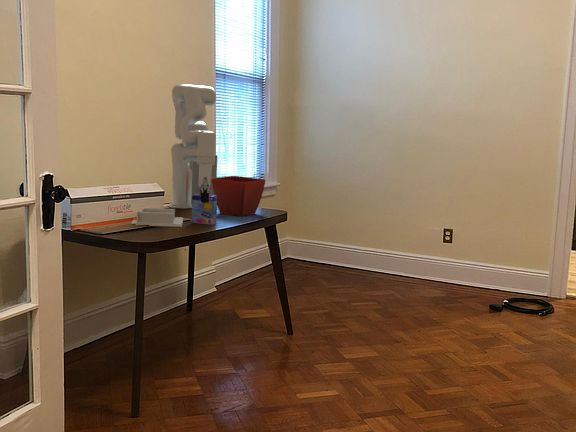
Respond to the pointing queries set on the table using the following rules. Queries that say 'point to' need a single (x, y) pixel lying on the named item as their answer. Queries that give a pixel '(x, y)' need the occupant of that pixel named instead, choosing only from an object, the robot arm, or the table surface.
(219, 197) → the plant pot
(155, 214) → the end holder
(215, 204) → the ink cartridge box
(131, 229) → the table surface
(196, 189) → the grey slab
